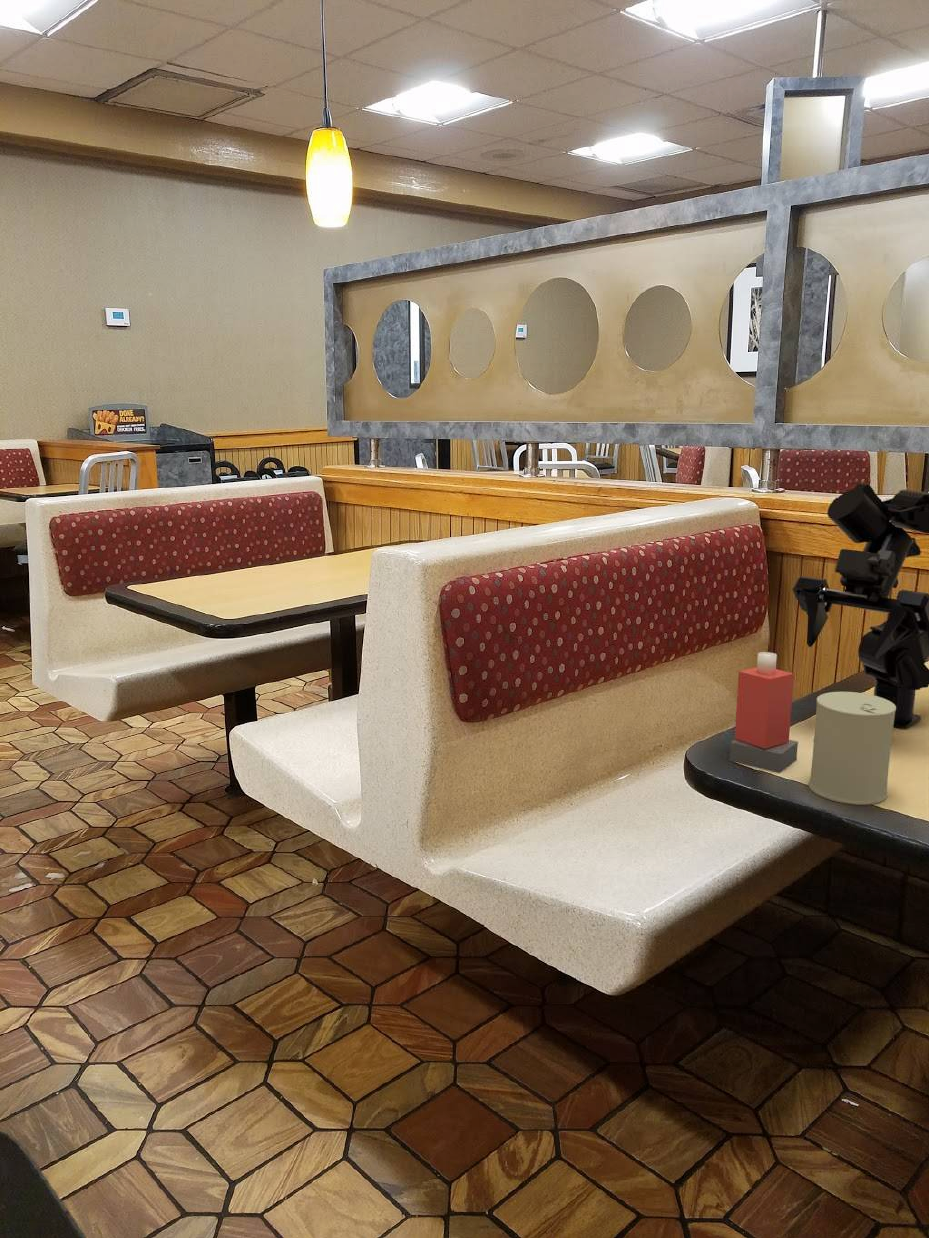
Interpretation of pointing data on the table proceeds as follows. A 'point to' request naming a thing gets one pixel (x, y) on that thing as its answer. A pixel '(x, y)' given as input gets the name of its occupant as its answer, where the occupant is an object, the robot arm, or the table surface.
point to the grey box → (764, 755)
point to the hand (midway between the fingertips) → (840, 651)
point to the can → (852, 747)
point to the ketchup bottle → (764, 703)
